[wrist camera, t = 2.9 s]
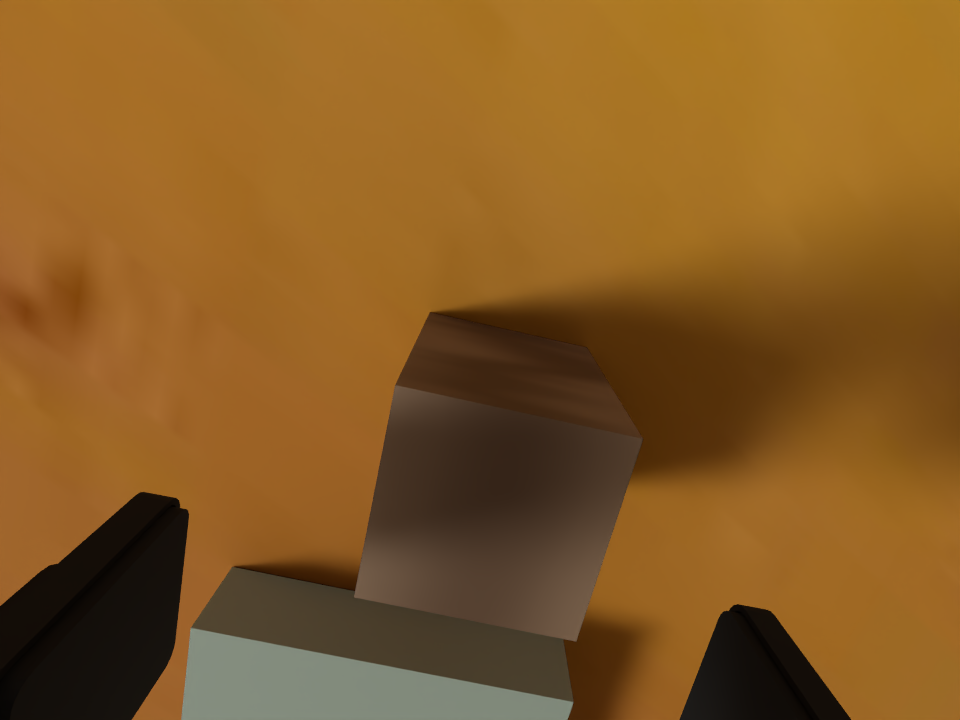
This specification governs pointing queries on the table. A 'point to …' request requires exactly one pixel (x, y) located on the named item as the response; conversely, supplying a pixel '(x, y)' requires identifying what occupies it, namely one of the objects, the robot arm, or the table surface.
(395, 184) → the table surface
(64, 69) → the table surface
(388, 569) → the walnut block
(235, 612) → the plate
